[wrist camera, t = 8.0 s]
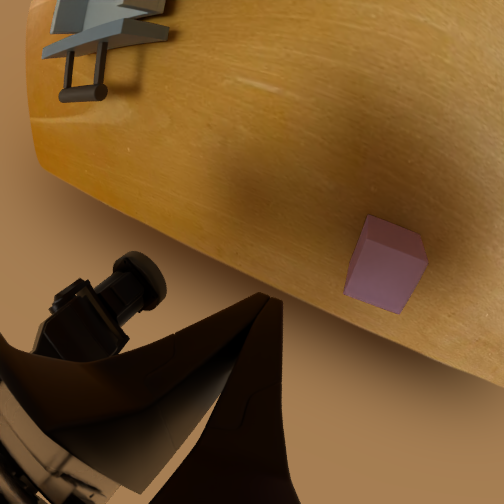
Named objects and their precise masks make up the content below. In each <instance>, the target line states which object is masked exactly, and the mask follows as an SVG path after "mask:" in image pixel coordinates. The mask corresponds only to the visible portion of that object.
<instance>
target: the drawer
mask: <svg viewBox="0 0 504 504" xmlns="http://www.w3.org/2000/svg"><path fill="white" fill-rule="evenodd" d="M165 1H166V0H57V3H56V7H55V11H54V16H53V20H52V25H51V30H50V34H74V35H71V36H69V37H67V38H64V39H62V40H60V41H57V42H55V43H53V44H51V45H49V46H46V47H44V48H43V52H42V59H48V58H60V57H66V65H65V75H64V87H63V88H64V89H62V90H61V91H60V93H59V101H60V102H62V103H69V102H86V101H102V100H103V99H105V97H106V96H107V93H108V89H107V86H106V85H104V84H103V81H104V71H105V62H106V55H107V50H108V49H113V48H118V47H123V46H129V45H135V44H142V43H149V42H157V41H166V40H167V38H168V33H169V27H167V26H162V25H158V24H154V23H149V22H144V21H139V20H134V19H137V18H141V17H146V16H151V15H156V14H161V13H163V10H164V6H165ZM95 52H97V56H96V64H95V73H94V83H93V84H94V85H85V86H77V87H71V84H72V72H73V63H74V57H77V56H83V55H87V54H90V53H95Z"/></svg>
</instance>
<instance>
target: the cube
mask: <svg viewBox="0 0 504 504" xmlns="http://www.w3.org/2000/svg"><path fill="white" fill-rule="evenodd" d="M427 265H428V259H427V256H426V252H425V249H424V246H423V243H422V240H421V237H420V234H417V233H415V232H413V231H410V230H408V229H405V228H403V227H400V226H398V225H395V224H393V223H390V222H388V221H385V220H382V219H380V218H377V217H374V216H372V215H369V214H368V215H367V218H366V221H365V224H364V226H363V229H362V232H361V235H360V237H359V240H358V242H357V245H356V248H355V250H354V253H353V255H352V258H351V260H350V263H349V268H348V273H347V278H346V283H345V287H344V292H343V294H344V295H347V296H350V297H352V298H355V299H358V300H361V301H363V302H366V303H369V304H372V305H374V306H377V307H380V308H383V309H385V310H388V311H391V312H394V313H396V314H400V313H401V311H402V310H403V308H404V306H405V305H406V303H407V301H408V300H409V298H410V296H411V294H412V293H413V291H414V289H415V287H416V286H417V284H418V282H419V280H420V278H421V276H422V275H423V273H424V271H425V269H426V267H427Z"/></svg>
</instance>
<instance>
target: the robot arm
mask: <svg viewBox="0 0 504 504" xmlns="http://www.w3.org/2000/svg"><path fill="white" fill-rule="evenodd" d="M75 294H77V296H76V295H75ZM158 297H159V296H158V294H157V293H156V292H155V290H154V289H153V288H152V287H151V286H150V284H149V283H148V282H147V281H146V280H145V278H144V277H143V276H142V275H141V274H140V272H139V271H138V270H137V269H136V267H135V266H134V265H133V264H132V262H131V261H130V260H129V258H127V257H125V258H123V259H122V261H121V262H120V263H119V265H118V266H117V268H116V269H115V270H114V272H113V273H112V275H111V276H110V277H108V278H107V279H106V280H104V281H103V282H102V283H100V284H99V285H98V286H96V287H95V288H94V289H93V287H92V286H91V284H90V281H89V280H86V281H84V280H82V279H81V278H80V279H78V280H76V281H75V282H74V283H72V284H71V285H69V286H68V287H66V288H65V289H64V290H62V291H61V292H59V293H58V294H56V295H55V297H54V303H53V304H52V305H53V306H52V307H50V308H49V311H50V313H51V314H52V315H51V316H50V317H49V318H47V319H46V320H45V321H44V322H43V323H41V324H40V326H39V329H38V332H37V335H36V339H35V342H34V346H33V350H32V351H31V352H30V353H27V352H24V351H21V350H18V349H16V348H14V347H12V346H11V345H9V344H8V343H7V341H6V340H5V338H4V337H3V336H2V334H1V333H0V504H47V503H46V502H45V501H44V500H43V499H41V498H40V497H39V496H37V495H36V493H37V492H38V491H39V492H40V493H41V494H42V495H43V496H44V497H45V498H46V499H47V500H48V501H49V502H50V503H51V504H106V503H107V501H108V500H109V499H110V498H111V497H112V495H113V494H114V493H115V492H116V490H117V489H118V488H119V487H120V485H122V486H124V487H126V488H128V489H130V490H132V491H134V492H136V493H138V494H142V492H143V491H144V490H145V489H146V488H147V487H148V486H149V484H150V483H151V482H152V481H153V480H154V478H155V477H156V476H157V475H158V474H159V472H160V471H161V470H162V469H163V468H164V466H165V465H166V464H167V463H168V461H169V460H170V459H171V458H172V457H173V455H174V454H175V453H176V451H177V450H178V449H179V448H180V446H181V445H182V444H183V443H184V441H185V440H186V439H187V437H188V436H189V435H190V434H191V432H192V431H193V430H194V428H195V427H196V426H197V424H198V423H199V422H200V421H201V419H202V418H203V416H204V415H205V414H206V412H207V411H208V410H209V408H210V407H211V406H212V404H213V403H214V402H215V400H216V399H217V398H218V396H219V395H220V396H219V399H218V401H217V403H216V405H215V407H214V409H213V411H212V413H211V416H210V418H209V420H208V422H207V424H206V426H205V428H204V430H203V432H202V434H201V436H200V438H199V440H198V441H197V443H196V445H195V446H194V447H193V449H192V450H191V451H190V453H189V454H188V455H187V457H186V458H185V459H184V460H183V462H182V463H181V464H180V466H179V467H178V468H177V469H176V471H175V472H174V473H173V474H172V476H171V477H170V478H169V479H168V481H167V482H166V483H165V484H164V486H163V487H162V488H161V489H160V490H159V492H158V493H157V494H156V495H155V496H154V498H153V499H152V500H151V501H150V502H149V504H301V503H300V501H299V499H298V496H297V494H296V492H295V489H294V487H293V484H292V481H291V477H290V473H289V468H288V462H287V455H286V446H285V438H284V429H283V420H282V403H281V401H282V400H281V399H282V384H281V382H282V350H283V345H282V344H283V301H282V300H279V299H277V298H273V297H271V298H270V296H269V295H266V294H263V293H261V292H258V293H256V294H254V295H252V296H250V297H248V298H246V299H244V300H242V301H240V302H238V303H236V304H234V305H232V306H230V307H228V308H226V309H224V310H221V311H219V312H217V313H215V314H213V315H211V316H209V317H207V318H205V319H203V320H201V321H199V322H197V323H195V324H193V325H190V326H188V327H186V328H184V329H182V330H180V331H178V332H176V333H175V335H174V334H171V335H169V336H167V337H165V338H163V339H160V340H158V341H155V342H153V343H151V344H148V345H145V346H142V347H140V348H137V349H134V350H131V351H128V352H124V353H122V354H118V353H119V352H120V351H121V350H122V349H123V347H124V346H125V344H126V343H127V342H128V341H129V339H130V338H129V337H128V335H126V334H125V333H124V331H123V330H122V329H121V327H122V326H123V325H124V324H125V323H126V322H127V321H128V320H129V319H130V318H131V317H132V316H134V314H135V313H137V312H138V313H140V312H142V311H143V310H144V309H145V308H147V307H148V306H149V305H150V304H152V303H153V302H154V301H155V300H156V299H158ZM220 393H221V394H220Z"/></svg>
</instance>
